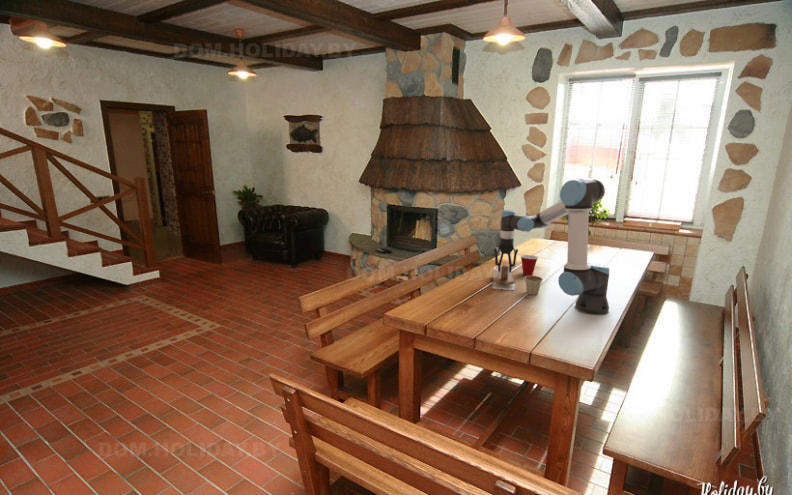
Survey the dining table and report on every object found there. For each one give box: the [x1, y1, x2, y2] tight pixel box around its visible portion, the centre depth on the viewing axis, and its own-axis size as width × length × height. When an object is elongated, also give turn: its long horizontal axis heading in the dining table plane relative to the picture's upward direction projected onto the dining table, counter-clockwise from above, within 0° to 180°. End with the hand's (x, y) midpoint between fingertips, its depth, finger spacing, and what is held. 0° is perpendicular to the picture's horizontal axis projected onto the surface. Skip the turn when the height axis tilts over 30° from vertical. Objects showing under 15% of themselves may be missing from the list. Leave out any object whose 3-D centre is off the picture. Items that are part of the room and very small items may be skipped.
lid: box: [492, 265, 516, 285], centre depth 239 cm, size 12×12×9 cm
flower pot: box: [524, 275, 544, 296], centre depth 229 cm, size 9×9×9 cm
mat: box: [491, 281, 516, 291], centre depth 241 cm, size 12×12×1 cm
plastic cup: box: [520, 254, 539, 277], centre depth 262 cm, size 11×11×12 cm
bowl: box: [492, 265, 512, 280], centre depth 254 cm, size 10×10×6 cm
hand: (504, 277), depth 240 cm, fingers closed on lid, 4 cm apart
